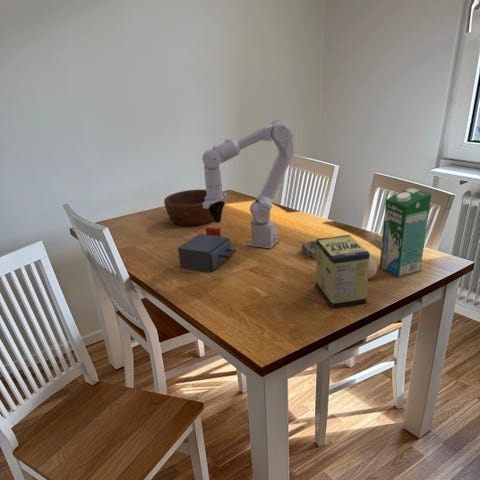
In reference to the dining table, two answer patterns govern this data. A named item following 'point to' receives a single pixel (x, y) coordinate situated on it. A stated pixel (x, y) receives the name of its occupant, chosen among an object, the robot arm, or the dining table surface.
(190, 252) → the cabinet
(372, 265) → the egg
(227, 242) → the drawer
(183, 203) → the wooden bowl
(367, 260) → the protein box
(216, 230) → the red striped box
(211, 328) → the dining table surface
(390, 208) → the milk carton
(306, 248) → the egg carton
